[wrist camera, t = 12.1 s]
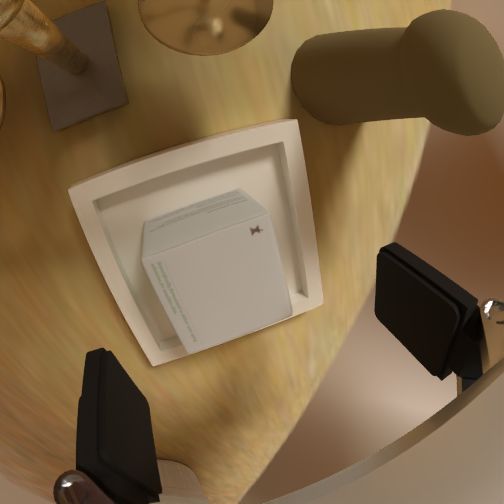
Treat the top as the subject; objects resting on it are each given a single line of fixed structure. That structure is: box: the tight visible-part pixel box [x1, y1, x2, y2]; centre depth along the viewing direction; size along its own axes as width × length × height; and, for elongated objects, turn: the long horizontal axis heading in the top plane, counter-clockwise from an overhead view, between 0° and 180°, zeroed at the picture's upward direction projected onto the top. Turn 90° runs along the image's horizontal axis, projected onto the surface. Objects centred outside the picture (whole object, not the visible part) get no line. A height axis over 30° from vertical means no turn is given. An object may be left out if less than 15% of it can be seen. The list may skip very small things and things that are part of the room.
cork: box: [291, 9, 504, 136], centre depth 11 cm, size 6×6×11 cm
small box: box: [141, 188, 293, 354], centre depth 15 cm, size 6×6×5 cm
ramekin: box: [150, 459, 210, 504], centre depth 25 cm, size 11×11×5 cm
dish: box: [67, 119, 323, 366], centre depth 17 cm, size 12×12×2 cm
